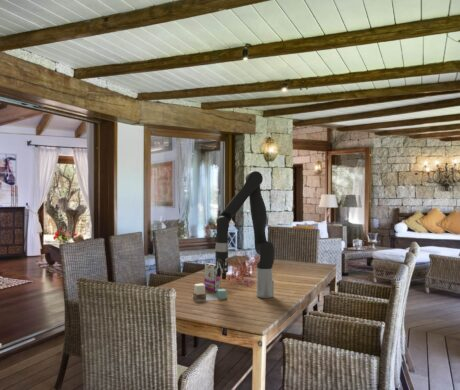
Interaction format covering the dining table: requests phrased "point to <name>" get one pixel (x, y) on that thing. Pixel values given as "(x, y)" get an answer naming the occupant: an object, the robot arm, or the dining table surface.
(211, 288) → the candy bar box
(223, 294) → the teal cube
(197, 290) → the cream cube
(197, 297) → the walnut base
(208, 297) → the board
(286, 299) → the dining table surface
